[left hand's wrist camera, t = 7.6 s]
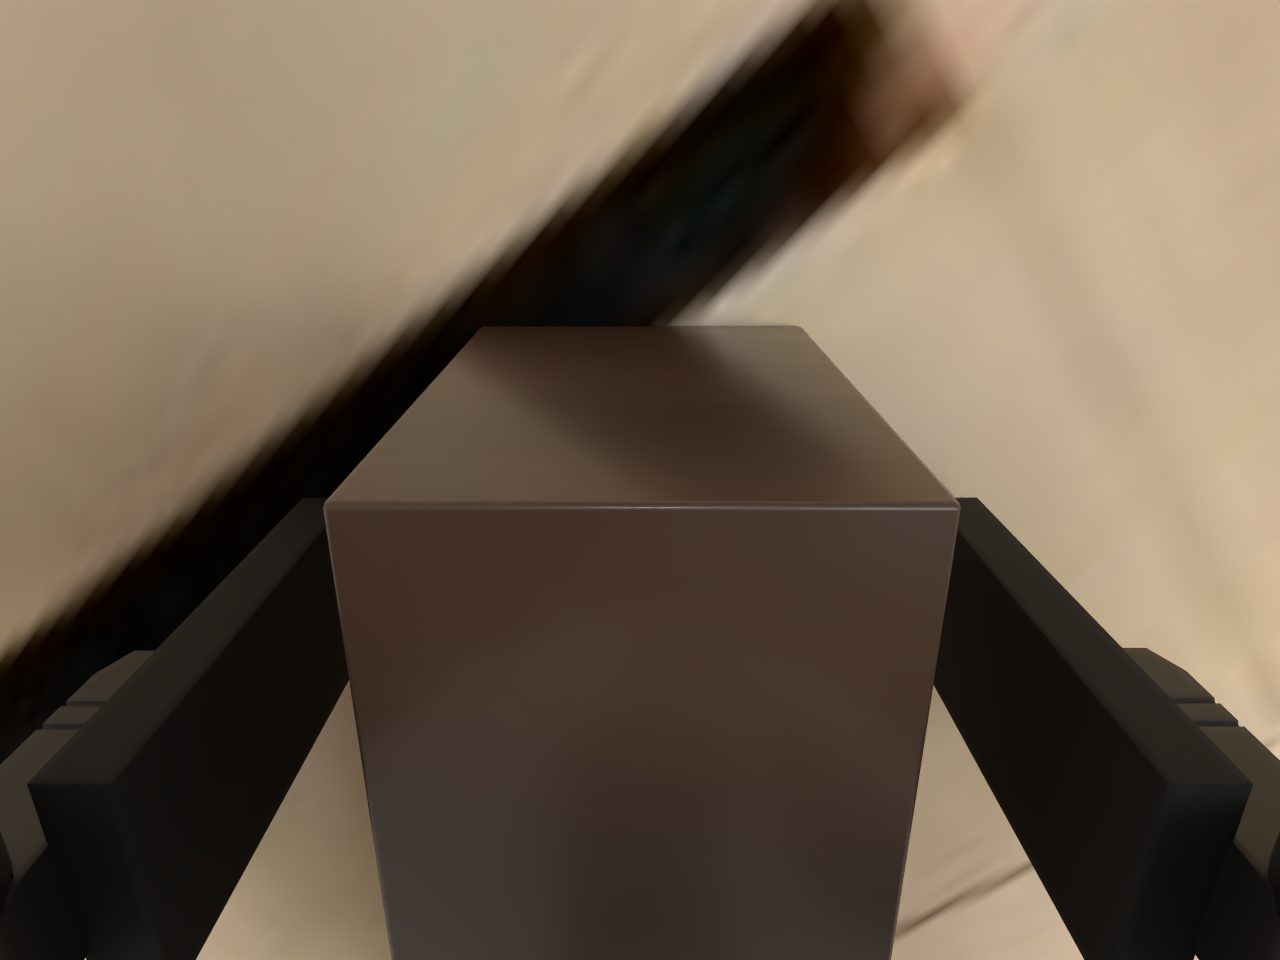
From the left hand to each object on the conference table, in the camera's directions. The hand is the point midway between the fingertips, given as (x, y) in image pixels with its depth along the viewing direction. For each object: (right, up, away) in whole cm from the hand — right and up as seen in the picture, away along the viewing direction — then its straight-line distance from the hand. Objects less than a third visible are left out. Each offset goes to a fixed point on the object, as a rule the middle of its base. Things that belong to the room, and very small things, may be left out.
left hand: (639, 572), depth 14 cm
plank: (0, -11, +5) cm, 12 cm away
